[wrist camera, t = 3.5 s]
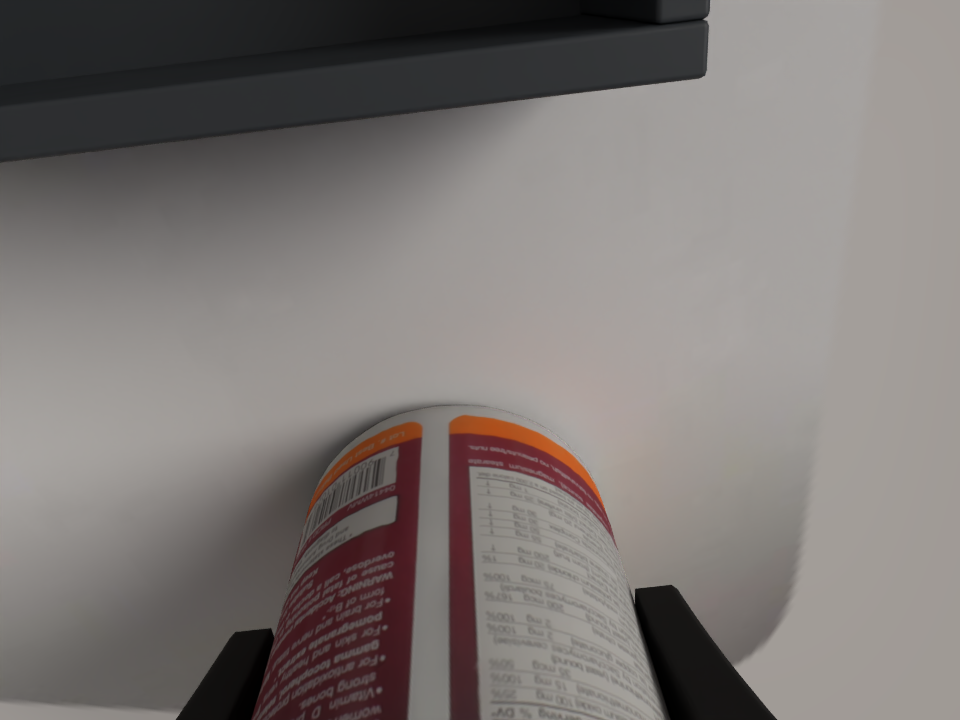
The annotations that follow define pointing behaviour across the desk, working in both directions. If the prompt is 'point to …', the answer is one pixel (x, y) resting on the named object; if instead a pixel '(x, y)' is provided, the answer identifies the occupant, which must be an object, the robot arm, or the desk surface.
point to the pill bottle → (458, 584)
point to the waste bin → (311, 62)
